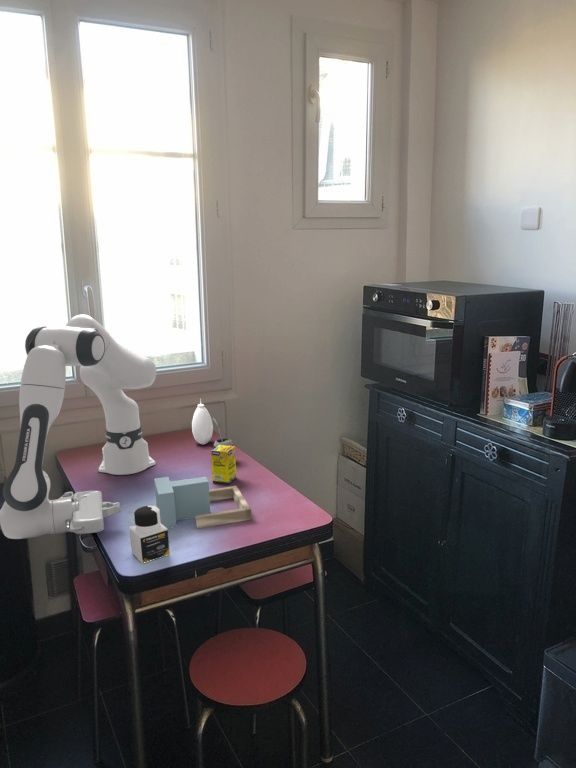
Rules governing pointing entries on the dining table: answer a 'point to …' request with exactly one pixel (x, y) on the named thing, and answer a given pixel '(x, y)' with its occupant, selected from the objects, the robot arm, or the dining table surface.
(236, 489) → the frame
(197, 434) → the white bulb air blower
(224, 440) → the mate gourd
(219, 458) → the supplement box
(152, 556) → the medicine bottle
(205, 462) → the dining table surface
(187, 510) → the blue block with tab
